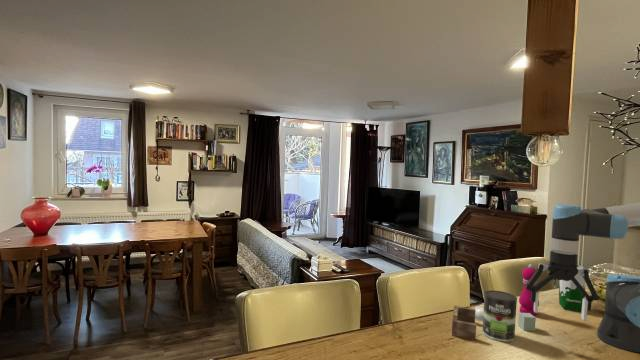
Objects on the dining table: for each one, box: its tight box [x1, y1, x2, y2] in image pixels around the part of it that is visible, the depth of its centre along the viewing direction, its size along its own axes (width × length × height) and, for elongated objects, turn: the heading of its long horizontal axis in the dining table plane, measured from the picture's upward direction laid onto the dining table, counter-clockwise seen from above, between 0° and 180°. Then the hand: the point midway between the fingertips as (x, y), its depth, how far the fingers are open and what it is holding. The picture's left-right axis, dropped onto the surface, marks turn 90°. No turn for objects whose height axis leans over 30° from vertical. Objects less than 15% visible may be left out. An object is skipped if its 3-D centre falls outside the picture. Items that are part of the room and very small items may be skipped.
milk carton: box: [558, 260, 587, 313], centre depth 156 cm, size 9×9×20 cm
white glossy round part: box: [474, 305, 484, 322], centre depth 142 cm, size 7×7×4 cm
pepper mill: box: [518, 263, 540, 317], centre depth 149 cm, size 7×7×20 cm
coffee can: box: [481, 290, 518, 343], centre depth 127 cm, size 10×10×14 cm
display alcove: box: [451, 305, 477, 341], centre depth 132 cm, size 8×16×5 cm, turn 158°
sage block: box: [517, 312, 537, 332], centre depth 134 cm, size 4×4×5 cm
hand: (559, 315), depth 120 cm, fingers open, 13 cm apart
